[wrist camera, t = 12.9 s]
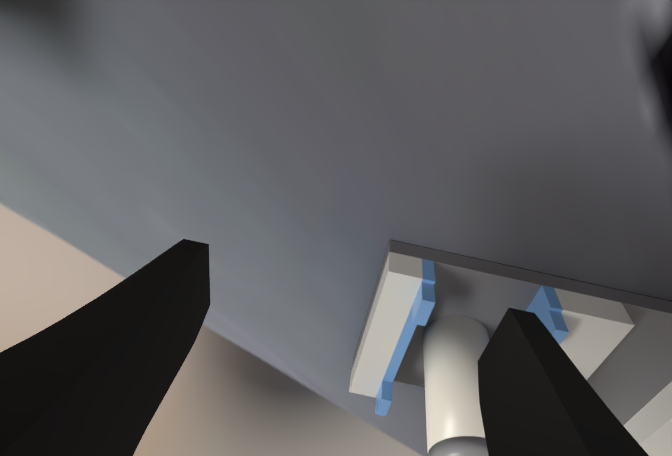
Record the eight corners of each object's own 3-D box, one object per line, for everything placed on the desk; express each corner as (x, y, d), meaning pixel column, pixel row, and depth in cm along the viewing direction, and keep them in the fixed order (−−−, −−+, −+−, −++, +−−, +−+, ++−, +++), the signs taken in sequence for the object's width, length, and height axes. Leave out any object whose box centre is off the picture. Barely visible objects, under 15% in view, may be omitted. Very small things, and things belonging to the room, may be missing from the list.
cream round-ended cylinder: (498, 323, 23) (532, 467, 17) (475, 363, 25) (497, 503, 19) (433, 309, 23) (443, 447, 17) (415, 350, 25) (418, 486, 19)
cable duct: (772, 323, 22) (831, 386, 19) (653, 425, 27) (683, 485, 24) (390, 239, 22) (387, 288, 19) (353, 358, 28) (346, 409, 25)
